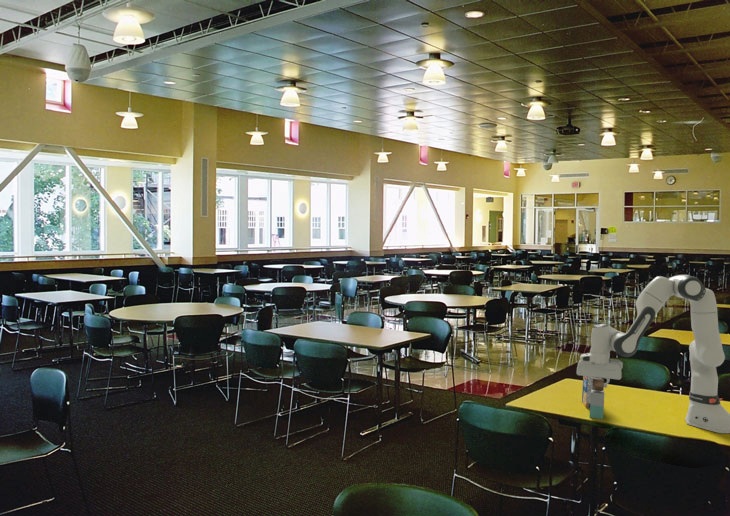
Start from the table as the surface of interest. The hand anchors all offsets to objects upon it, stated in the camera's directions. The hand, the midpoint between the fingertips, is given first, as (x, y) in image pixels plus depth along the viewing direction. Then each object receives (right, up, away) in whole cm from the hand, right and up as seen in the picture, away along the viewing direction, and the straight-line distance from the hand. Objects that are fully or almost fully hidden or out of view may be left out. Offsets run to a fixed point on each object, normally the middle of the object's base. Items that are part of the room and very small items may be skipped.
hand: (598, 386), depth 297 cm
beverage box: (+4, -14, +20) cm, 25 cm away
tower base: (-1, -15, +1) cm, 15 cm away
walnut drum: (0, -2, 0) cm, 2 cm away
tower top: (0, -9, 0) cm, 9 cm away
